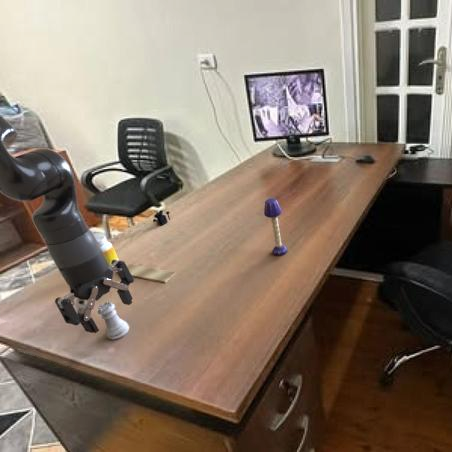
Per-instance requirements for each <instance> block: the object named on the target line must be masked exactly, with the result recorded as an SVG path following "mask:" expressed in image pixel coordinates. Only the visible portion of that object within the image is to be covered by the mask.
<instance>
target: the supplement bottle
mask: <svg viewBox="0 0 452 452" xmlns="http://www.w3.org/2000/svg"><path fill="white" fill-rule="evenodd" d="M95 238H96V240H97V242H98V244H99V246H100V248H101V250H102V252H103V254H104V256H105V258H106V260H107V262H108V264H109V266H110V265H111V262H112V261H113V260H119V261H120V259H119V257H118V255H117V253H116V250H115V248H114V246H113V244H112V242H110V241H108V239H107V238H106V236H105V235H97V236H95Z"/></svg>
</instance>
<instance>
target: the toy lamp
mask: <svg viewBox="0 0 452 452" xmlns="http://www.w3.org/2000/svg"><path fill="white" fill-rule="evenodd" d="M282 212H283V211H282V208H281V206H280V205H279V203H278V200H277V199H276V198H267V199H265V202H264V211H263V214H264V215H263V216H265V217H266V218H270V221H271V224H272V225H271V226H272V231H273V237H274V242H275V246H274V247H273V249H272V254H273V255H274V256H277V257H282V256H284V255H286V254H287V253H288V247H286V246H285V245H284V244H283V243H282V237H281V233H280V227H279V225H280V224H279V219H278V217H279V216H280V215H281V214H282Z"/></svg>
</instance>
